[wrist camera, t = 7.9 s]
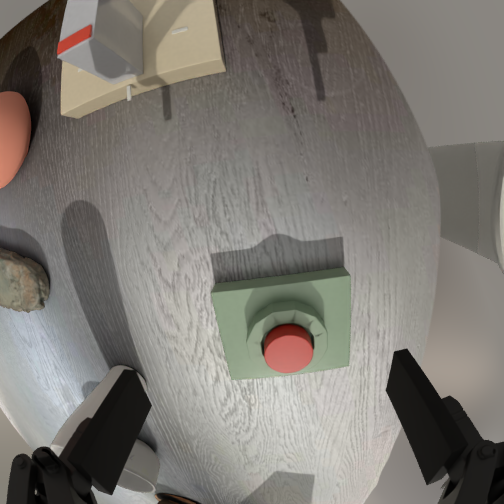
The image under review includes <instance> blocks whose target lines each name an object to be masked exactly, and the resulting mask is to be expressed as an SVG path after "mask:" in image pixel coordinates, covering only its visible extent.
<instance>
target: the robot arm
mask: <svg viewBox="0 0 504 504" xmlns="http://www.w3.org/2000/svg"><path fill="white" fill-rule="evenodd" d="M386 392H387V394H388V396H389V398H390V400H391V402H392V405H393V407H394V409H395V411H396V413H397V415H398V418H399V420H400V422H401V424H402V427H403V429H404V431H405V433H406V435H407V438H408V440H409V443H410V445H411V447H412V449H413V452H414V454H415V457H416V459H417V462H418V464H419V467H420V469H421V472H422V474H423V477H424V479H425V482H426V485H429V484H431V483H434V482H436V481H438V480H440V479H442V478H443V477H444V476H445V474H446V473H448V475H449V478H448V480H447V481H446V482H445V483H444V484H443V485H442V487H441V488H444V487H445V488H444V490H443V493H442V495H441V497H440V500H439V502H438V504H504V442H500V443H493V442H492V441H489V440H483V439H482V437H481V436H480V434H479V432H478V431H477V430H476V428H475V427H474V425H473V423H472V422H471V420H470V418H469V417H467V414H466V412H465V411H463V408H462V406H461V405H460V403H459V402H458V401H457V400H456V399H454V398H453V397H451V396H448V397H445V398H443V399H441V398H440V396H439V395H438V393H437V392H436V390H435V388H434V387H433V385H432V384H431V382H430V381H429V379H428V378H427V376H426V375H425V374H424V372H423V371H422V369H421V368H420V366H419V365H418V363H417V362H416V360H415V359H414V358H413V356H412V355H411V353H410V352H409V351H408V349H403V350H399V351H395V352H394V354H393V360H392V365H391V370H390V374H389V379H388V383H387V388H386ZM151 406H152V405H151V403H150V401H149V399H148V396H147V394H146V392H145V390H144V388H143V385H142V383H141V381H140V379H139V376H138V374H137V372H136V370H128V369H124V370H123V371H122V373H121V374H120V376H119V377H118V379H117V380H116V382H115V383H114V385H113V386H112V388H111V389H110V391H109V393H108V394H107V396H106V397H105V399H104V400H103V402H102V403H101V405H100V406H99V408H98V409H97V411H96V413H95V414H94V416H93V417H92V418H89V417H87V418H86V419H84V420H83V421H82V422H81V423H80V424H79V425H78V427H77V428H76V431H75V432H74V433H73V435H72V437H71V438H70V439H69V441H68V443H67V444H66V446H65V447H64V449H63V450H62V452H61V454H60V455H59V457H58V456H57V455H56V454H55V453H54V452H53V451H52V450H51V449H50V448H49V447H40V448H37V449H36V450H35V451H34V452H33V454H32V459H31V458H30V457H29V456H28V455H26V454H20V455H17V456H16V457H15V458H14V459H13V462H12V467H11V472H10V478H9V485H8V494H7V503H6V504H97V501H96V499H95V496H94V493H93V492H92V490H91V487H92V485H93V486H94V487H95V488H96V489H97V490H98V491H101V492H103V493H106V494H109V495H112V494H113V492H114V490H115V487H116V485H117V483H118V480H119V478H120V476H121V473H122V471H123V469H124V466H125V464H126V462H127V460H128V457H129V455H130V453H131V450H132V448H133V446H134V444H135V442H136V439H137V437H138V435H139V433H140V430H141V428H142V426H143V424H144V422H145V419H146V417H147V415H148V413H149V411H150V408H151ZM35 490H37V494H36V495H35Z"/></svg>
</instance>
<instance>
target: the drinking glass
mask: <svg viewBox="0 0 504 504" xmlns="http://www.w3.org/2000/svg"><path fill="white" fill-rule="evenodd" d="M124 369H128V370H134V369H132V368H130V367H127V366H123V365H118V366H114V367H113V368H112V369H111V370H110V371H109V372H108V374H107V375H106V376H105V378H104V379H103V380H102V381H101V382H100V383H99V384H98V385H97V386H96V388H95V389H94V390H93V391H92V392H91V393H90V394H89V395H88V396H87V398H86V399H85V400H84V401H83V402H82V403H81V404H80V405H79V406H78V407H77V409H76V410H75V411H74V412H73V413H72V414H71V415H70V417H69V418H68V419H67V420H66V422H65V423H64V424H63V426H62V427H61V428H60V430H59V431H58V433H57V435H56V436H55V438H54V440H53V441H52V443H51V445H50V448H51V450H52V451H53V452H54V453H55V454H56V455H57V456H58V457H59V455H60V454H61V452H62V450H63V449H64V447H65V446H66V444H67V443H68V441H69V439H70V438H71V437H72V435H73V433H74V432H75V431H76V428H77V427H78V425H79V424H80V423H81V422H82V421H83V420H84V419H86V418H87V417H89V418H92V417H93V416H94V414H95V413H96V411H97V409H98V408H99V406H100V405H101V403H102V402H103V400H104V399H105V397H106V396H107V394H108V393H109V391H110V389H111V388H112V386H113V385H114V383H115V382H116V380H117V379H118V377H119V376H120V374H121V373H122V371H123V370H124ZM136 372H137V371H136ZM137 374H138V376H139V379H140V381H141V383H142V385H143V388H144V390H145V392H146V391H147V386H146V382H145V380H144V379H143V377H142V376H141V375H140V374H139V373H138V372H137Z"/></svg>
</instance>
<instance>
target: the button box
mask: <svg viewBox="0 0 504 504" xmlns="http://www.w3.org/2000/svg"><path fill="white" fill-rule="evenodd" d="M211 296H212V301H213V305H214V310H215V314H216V319H217V323H218V327H219V332H220V336H221V340H222V344H223V348H224V352H225V356H226V360H227V364H228V368H229V372H230V376H231V380H242V379H256V378H268V377H278V376H288V375H296V374H303V373H310V372H317V371H324V370H330V369H335V368H341V367H346V366H349V356H350V329H351V277H350V274H349V273H348V272H347V270H346V269H345V268H344V267H341V268H334V269H327V270H320V271H312V272H305V273H297V274H289V275H282V276H274V277H266V278H257V279H249V280H240V281H232V282H223V283H215V285H214V287H213V289H212V291H211ZM286 324H292V325H297V326H300V327H302V328H303V329H305V330H306V331H307V333H308V334H309V336H310V339H311V343H312V347H313V357H312V359H311V361H310V363H309V364H308V365H307V366H306V367H305V368H303V369H301V370H300V371H297V372H293V373H281V372H277V371H275V370H273V369H272V368H270V367H269V366H268V365H267V363H266V361H265V358H264V342H265V339H266V336H267V335H268V334H269V332H270V331H271V330H273V329H274V328H276V327H278V326H281V325H286Z"/></svg>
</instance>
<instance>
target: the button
mask: <svg viewBox="0 0 504 504" xmlns="http://www.w3.org/2000/svg"><path fill="white" fill-rule="evenodd" d="M312 357H313V347H312V343H311V339H310V336H309V334H308V333H307V331H306V330H305V329H303V328H302V327H300V326H297V325H292V324H286V325H281V326H278V327H276V328H274V329H273V330H271V331H270V332H269V334H268V335H267V336H266V339H265V342H264V358H265V361H266V363H267V365H268V366H269V367H270V368H272V369H273V370H275V371H277V372H281V373H293V372H297V371H300V370H301V369H303V368H305V367H306V366H307V365H308V364H309V363H310V361H311V359H312Z"/></svg>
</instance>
